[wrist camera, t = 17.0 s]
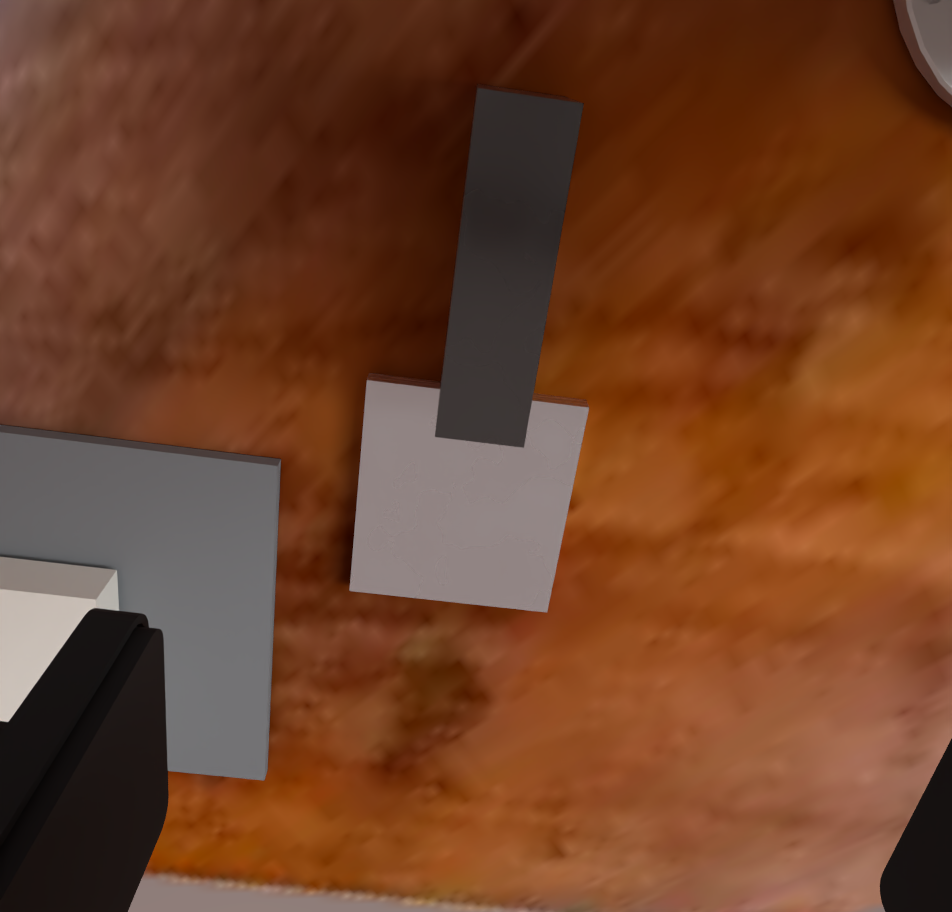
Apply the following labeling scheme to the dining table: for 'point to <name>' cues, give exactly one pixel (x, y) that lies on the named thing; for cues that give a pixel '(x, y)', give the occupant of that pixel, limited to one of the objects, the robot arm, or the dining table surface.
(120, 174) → the dining table surface
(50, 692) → the robot arm
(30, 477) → the mat
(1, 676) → the tile
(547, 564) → the trowel
